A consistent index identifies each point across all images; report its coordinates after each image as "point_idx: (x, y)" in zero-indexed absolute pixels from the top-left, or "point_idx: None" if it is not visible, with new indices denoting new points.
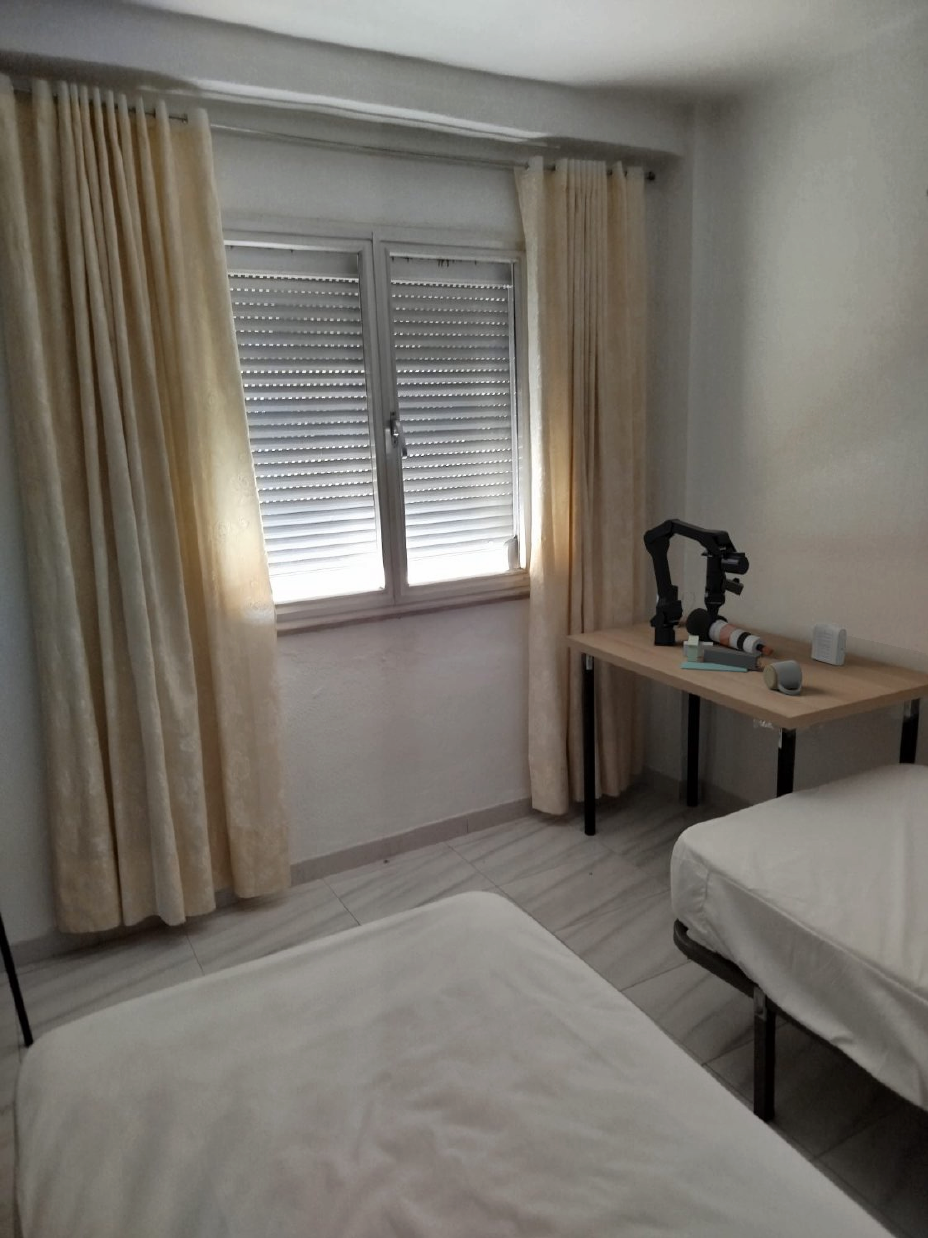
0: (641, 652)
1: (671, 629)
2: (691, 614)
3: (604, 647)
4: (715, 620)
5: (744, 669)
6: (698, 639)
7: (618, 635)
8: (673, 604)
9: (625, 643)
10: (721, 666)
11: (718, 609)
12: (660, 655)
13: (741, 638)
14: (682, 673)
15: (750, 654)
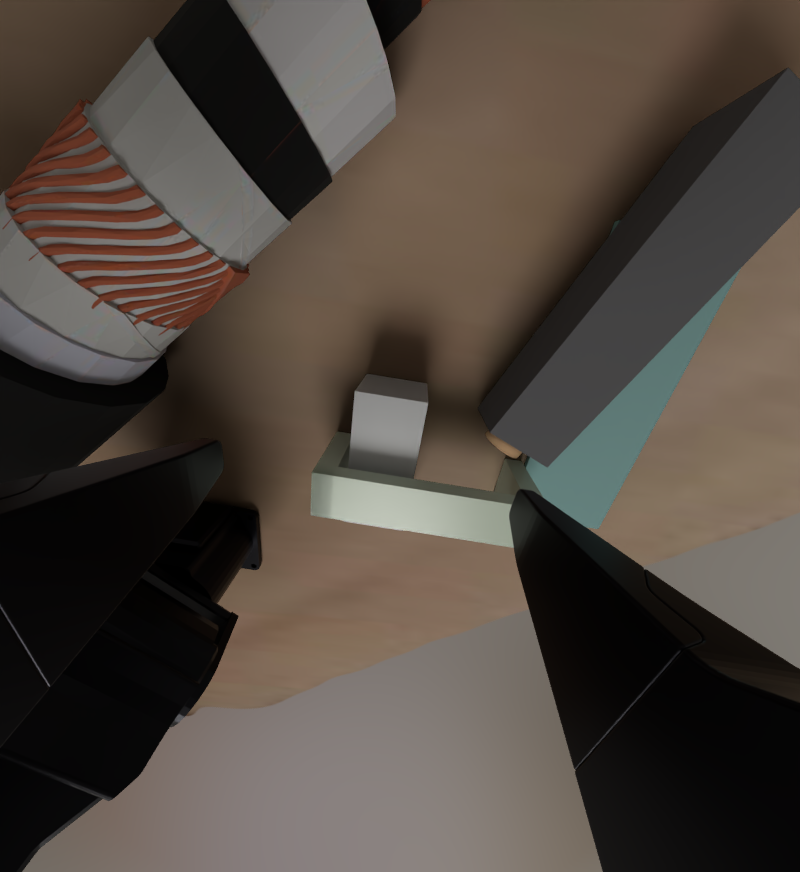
0: (362, 604)
1: (197, 566)
2: None
3: (316, 672)
4: (548, 508)
5: None
6: (362, 474)
7: None
8: (90, 742)
9: (254, 628)
10: None
11: (745, 644)
12: (398, 561)
13: (286, 169)
14: (659, 528)
15: (759, 178)
